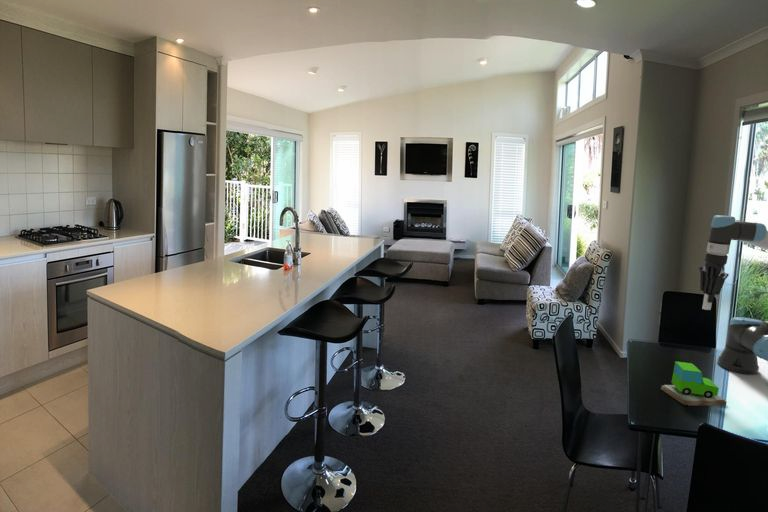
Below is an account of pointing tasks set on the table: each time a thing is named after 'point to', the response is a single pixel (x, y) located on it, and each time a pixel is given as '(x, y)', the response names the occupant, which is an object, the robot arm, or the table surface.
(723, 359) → the robot arm
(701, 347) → the table surface
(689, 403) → the wooden board
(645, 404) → the table surface
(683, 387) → the toy car
